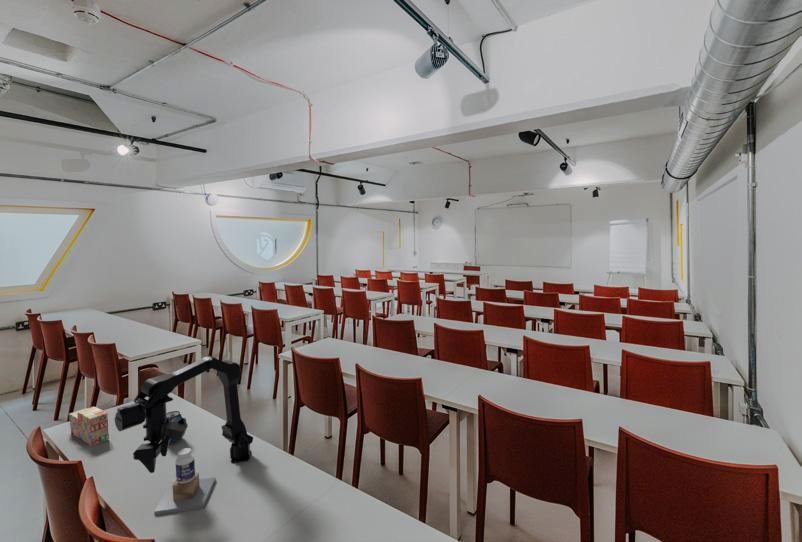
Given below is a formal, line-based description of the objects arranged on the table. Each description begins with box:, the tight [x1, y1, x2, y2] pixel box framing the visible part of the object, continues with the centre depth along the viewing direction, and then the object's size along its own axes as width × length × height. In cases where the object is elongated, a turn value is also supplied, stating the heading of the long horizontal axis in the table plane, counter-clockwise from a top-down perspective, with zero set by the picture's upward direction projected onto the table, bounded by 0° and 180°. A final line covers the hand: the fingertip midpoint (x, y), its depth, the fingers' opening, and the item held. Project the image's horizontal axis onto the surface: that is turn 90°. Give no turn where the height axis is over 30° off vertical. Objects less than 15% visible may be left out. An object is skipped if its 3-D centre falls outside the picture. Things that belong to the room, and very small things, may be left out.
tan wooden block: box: [173, 472, 200, 501], centre depth 124 cm, size 6×6×5 cm
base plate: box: [153, 477, 217, 516], centre depth 124 cm, size 14×14×1 cm
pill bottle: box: [175, 447, 196, 484], centre depth 123 cm, size 5×5×10 cm
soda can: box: [166, 410, 183, 445], centre depth 158 cm, size 7×7×12 cm
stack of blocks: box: [68, 406, 110, 447], centre depth 162 cm, size 21×6×12 cm, turn 60°
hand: (158, 464), depth 121 cm, fingers open, 9 cm apart
